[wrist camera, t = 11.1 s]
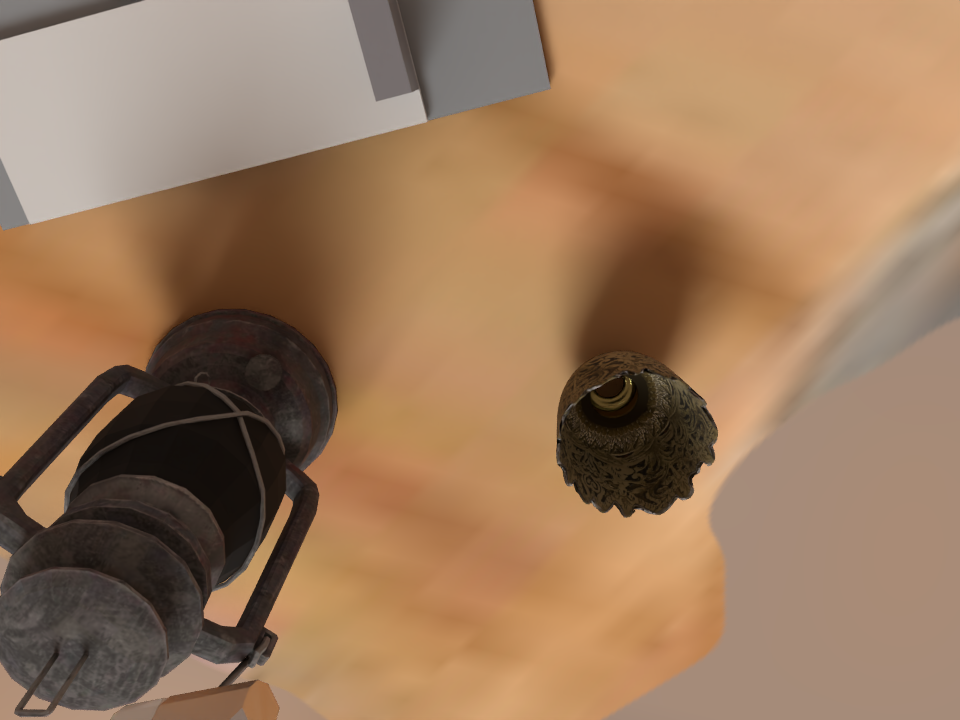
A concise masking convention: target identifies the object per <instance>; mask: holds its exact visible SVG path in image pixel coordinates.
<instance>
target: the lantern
mask: <svg viewBox="0 0 960 720" xmlns="http://www.w3.org/2000/svg"><path fill="white" fill-rule="evenodd" d="M117 394H123V395H125V396H128V397H131V398H134V400H133V401H132V402H131V403H130V404H129V405H128V406H127V407H126V408H124V409H123V410H122V411H121V412H120V413H119V414H118V415H117V416H116V417H115V418H114V419H113V420H112V421H111V422H110V423H109V424H108V425H107V426H106V427H105V428H104V429H103V430H102V431H101V432H99V433H98V434H97V435H96V437H95V438H94V440H93V441H92V443H91V444H90V446H89V447H88V448H87V450H86V451H85V453H84V454H83V456H82V457H81V459H80V461H79V464H78V467H77V469H76V472H75V474H74V476H73V478H72V480H71V481H70V483H69V485H68V487H67V489H66V491H65V503H64V514H63V515H62V516H61V517H59V518H58V519H57V520H56V521H55V522H54V523H53V524H52V525H51V526H50V527H48V528H45V527H43V526H42V525H40V524H39V523H37V522H36V521H34V520H33V519H31V518H30V517H28V516H27V515H26V514H25V512H24V511H23V509H22V508H21V507H20V505H19V504H18V502H17V501H18V500H19V498H20V497H21V496H22V495H23V494H24V492H25V491H26V490H27V489H28V488H29V487H30V486H31V485H32V484H33V483H34V482H35V480H36V479H37V478H38V477H39V476H40V475H41V474H42V473H43V472H44V471H45V470H46V468H47V467H48V466H49V465H50V464H51V463H52V462H53V461H54V460H55V459H56V458H57V457H58V455H59V454H60V453H61V452H62V451H63V450H64V449H65V448H66V447H67V446H68V445H69V443H70V442H71V441H72V440H73V439H74V438H75V437H76V436H77V435H78V434H79V433H80V431H81V430H82V429H83V428H84V427H85V426H86V425H87V424H88V423H89V422H90V421H91V419H92V418H93V417H94V416H95V415H96V414H97V413H98V412H99V411H100V410H101V409H102V407H103V406H104V405H105V404H106V403H107V402H108V401H110V400H111V399H112V398H113V397H114V396H116V395H117ZM337 411H338V410H337V395H336V387H335V384H334V381H333V378H332V375H331V373H330V370H329V367H328V365H327V363H326V362H325V361H324V359H323V358H322V356H321V355H320V353H319V352H318V350H317V349H316V348H315V346H314V345H313V344H312V343H311V342H310V341H309V340H308V339H306V338H305V337H304V336H303V335H302V334H301V333H299V332H298V331H297V330H296V329H295V328H294V327H292V326H290V325H288V324H286V323H284V322H282V321H280V320H278V319H276V318H274V317H272V316H270V315H266V314H262V313H258V312H254V311H250V310H246V309H218V310H214V311H211V312H207V313H203V314H199V315H196V316H193V317H191V318H190V319H188V320H186V321H185V322H183V323H181V324H180V325H178V326H176V327H175V328H173V329H172V330H171V331H170V332H169V333H168V334H167V335H166V337H165V338H164V339H163V340H162V341H161V342H160V343H159V344H158V345H157V346H156V348H155V350H154V352H153V354H152V357H151V359H150V361H149V363H148V365H147V367H146V371H145V372H144V371H142V370H139V369H137V368H134V367H132V366H129V365H120V366H114V367H113V368H111V369H109V370H107V371H106V372H104V373H102V374H101V375H99V376H97V377H96V378H95V379H94V381H93V382H92V383H91V384H90V385H89V386H88V387H87V388H86V389H85V390H84V391H83V392H82V393H81V394H80V395H79V396H78V398H77V399H76V400H75V401H74V402H73V403H72V404H71V405H70V406H69V407H68V408H67V409H66V410H65V411H64V412H63V413H62V415H61V416H60V417H59V418H58V419H57V420H56V421H55V422H54V423H53V424H52V425H51V426H50V427H49V428H48V429H47V430H46V431H45V433H44V434H43V435H42V436H41V437H40V438H39V439H38V440H37V441H36V442H35V443H34V444H33V445H32V446H31V447H30V448H29V450H28V451H27V452H26V453H25V454H24V455H23V456H22V457H21V458H20V459H19V460H18V461H17V462H16V463H15V464H14V465H13V466H12V468H11V469H10V470H9V471H8V472H7V473H6V474H5V475H4V476H3V477H2V476H0V546H1V547H2V548H4V549H5V550H7V551H8V552H10V553H11V554H13V555H12V556H11V557H10V560H9V563H8V566H7V569H6V572H5V575H4V578H3V581H2V584H1V587H0V589H1V596H0V662H1V664H2V665H3V667H4V668H5V670H6V671H7V673H8V674H9V675H10V677H11V678H12V679H13V680H14V681H16V682H17V683H18V684H20V685H21V686H22V687H24V688H25V689H27V690H28V691H27V693H26V694H25V695H24V697H23V698H22V700H21V701H20V703H19V704H18V705H17V707H16V709H15V714H16V715H18V716H20V717H47V716H48V715H50V714H51V713H52V712H53V711H54V709H55V708H56V706H57V705H60V706H63V707H66V708H69V709H72V710H98V711H105V710H109V709H112V708H116V707H119V706H123V705H126V704H130V703H133V702H136V701H137V700H138V699H139V698H141V697H142V696H143V695H144V694H145V693H147V692H148V691H149V690H150V689H151V688H153V687H154V686H155V685H157V683H158V681H159V679H160V677H163V676H165V675H167V674H168V673H169V672H170V671H172V670H173V669H174V668H175V667H177V666H178V665H179V664H180V663H182V662H183V661H184V660H185V659H187V658H188V657H189V656H190V654H191V653H192V654H194V655H196V656H199V657H201V658H203V659H206V660H208V661H210V662H213V663H215V664H224V663H238V662H241V661H242V662H241V663H240V664H239V665H238V666H237V667H236V668H235V670H234V671H233V672H232V673H231V674H230V675H229V676H228V677H227V678H226V679H225V680H224V681H223V682H222V684H221V685H220V686H219V687H222V686H227V685H231V684H232V683H233V682H234V681H235V680H236V679H237V678H238V677H239V676H240V674H241V673H242V672H243V671H244V670H245V669H246V668H247V667H250V668H253V667H255V665H256V663H257V664H258V665H260V666H262V665H264V664H265V662H266V661H267V660H268V659H269V658H270V656H271V653H272V651H273V649H274V647H275V644H276V642H277V640H278V637H277V635H276V634H274V633H273V632H271V631H270V630H268V629H266V628H265V627H264V625H265V623H266V620H267V618H268V616H269V614H270V612H271V610H272V607H273V605H274V603H275V601H276V599H277V597H278V595H279V592H280V590H281V588H282V586H283V584H284V582H285V579H286V577H287V575H288V573H289V571H290V569H291V566H292V564H293V562H294V560H295V558H296V556H297V553H298V551H299V549H300V547H301V545H302V543H303V540H304V538H305V536H306V534H307V532H308V530H309V527H310V525H311V523H312V521H313V519H314V517H315V515H316V511H317V505H318V499H319V492H318V489H317V485H316V484H315V483H314V482H313V481H312V480H311V479H310V478H309V477H308V476H307V475H306V474H305V473H304V472H303V471H304V470H305V469H306V468H307V467H308V466H309V465H310V464H311V463H312V462H313V461H314V460H315V459H316V458H317V457H318V456H319V455H320V454H321V453H322V451H323V449H324V448H325V446H326V444H327V442H328V441H329V439H330V437H331V435H332V433H333V429H334V425H335V420H336V416H337ZM284 494H286V495H287V496H288V497H289V498H290V499H291V500H292V501H293V507H292V510H291V513H290V516H289V518H288V520H287V522H286V524H285V526H284V528H283V530H282V533H281V535H280V537H279V539H278V541H277V543H276V545H275V547H274V549H273V551H272V553H271V556H270V558H269V560H268V562H267V564H266V566H265V568H264V570H263V572H262V574H261V576H260V579H259V581H258V583H257V585H256V587H255V589H254V591H253V593H252V595H251V597H250V599H249V602H248V604H247V606H246V608H245V610H244V612H243V614H242V616H241V618H240V620H239V622H238V624H237V626H236V627H228V626H220V625H218V624H216V623H214V622H212V621H209V620H207V619H205V618H204V612H203V610H204V608H205V605H206V603H207V601H208V599H209V597H210V594H211V592H213V591H216V590H218V589H221V588H224V587H226V586H228V585H229V584H230V583H231V582H233V581H234V580H235V579H236V578H237V577H238V576H239V575H240V574H241V573H243V572H244V571H245V570H246V569H247V567H248V565H249V563H250V561H251V560H252V558H253V556H254V554H255V552H256V551H257V549H258V548H259V546H260V545H261V543H262V542H263V540H264V538H265V537H266V535H267V532H268V530H269V528H270V526H271V524H272V522H273V520H274V517H275V515H276V513H277V511H278V509H279V506H280V504H281V502H282V499H283V497H284ZM235 572H236V573H235ZM234 573H235V574H234ZM233 574H234V575H233ZM229 577H230V578H229ZM228 578H229V579H228ZM227 579H228V580H227ZM226 580H227V581H226ZM224 581H226V582H224ZM222 582H224V583H222ZM220 583H221V584H220ZM218 584H219V585H218ZM33 694H34V695H35V696H36V697H38V698H39V699H42V700H45V701H48V702H51V704H50V706H49V707H48V708H47V710H27V709H26V710H25V709H24V710H23V708H24V707H25V705H26V704H27V702H28V701H29V699H30V698H31V696H32V695H33Z"/></svg>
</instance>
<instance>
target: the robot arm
mask: <svg viewBox="0 0 960 720" xmlns="http://www.w3.org/2000/svg"><path fill="white" fill-rule="evenodd" d="M279 709H280V707H279V705H278V703H277V701H276V699H275V697H274V695H273V693H272V690H271V688H270V686H269V684H267V683H265V682H262V681H260V680H254V681H248V682H244V683H238V684H233V685H227V686H222V687H217V688H211V689H206V690H201V691H195V692H190V693H185V694H180V695H174V696H170V697H169V698H161V699H156V700H151V701H146V702H141V703H136V704H131V705H126V706H125V707H123V708H122V709H120V710H119V711H117V712H116V713H114V714H113V716H112V717H111V719H110V720H276V719H277V716H278V713H279Z"/></svg>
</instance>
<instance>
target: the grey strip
mask: <svg viewBox="0 0 960 720" xmlns="http://www.w3.org/2000/svg"><path fill="white" fill-rule="evenodd" d="M425 122H428V118H427V114H426V110H425V106H424V102H423V98H422V94H421V90H420V86H419V83H418V79H417V75H416V71H415V67H414V63H413V59H412V55H411V52H410V48H409V44H408V40H407V36H406V32H405V28H404V24H403V21H402V17H401V13H400V9H399V5H398V1H397V0H144V1H141V2H137V3H133V4H130V5H126V6H122V7H119V8H115V9H112V10H108V11H104V12H101V13H97V14H94V15H90V16H86V17H83V18H79V19H76V20H72V21H68V22H65V23H61V24H57V25H54V26H50V27H47V28H43V29H39V30H36V31H32V32H29V33H25V34H21V35H18V36H14V37H11V38H7V39H3V40H0V158H1V161H2V163H3V165H4V167H5V170H6V172H7V174H8V176H9V179H10V181H11V183H12V185H13V188H14V190H15V192H16V194H17V196H18V199H19V201H20V203H21V205H22V208H23V210H24V212H25V214H26V217H27V219H28V221H29V223H30V224H34V223H38V222H42V221H46V220H50V219H54V218H58V217H61V216H65V215H69V214H73V213H77V212H81V211H85V210H88V209H92V208H96V207H100V206H104V205H108V204H112V203H116V202H119V201H123V200H127V199H131V198H135V197H139V196H143V195H146V194H150V193H154V192H158V191H162V190H166V189H170V188H174V187H177V186H181V185H185V184H189V183H193V182H197V181H201V180H204V179H208V178H212V177H216V176H220V175H224V174H228V173H232V172H235V171H239V170H243V169H247V168H251V167H255V166H259V165H263V164H266V163H270V162H274V161H278V160H282V159H286V158H290V157H293V156H297V155H301V154H305V153H309V152H313V151H317V150H321V149H324V148H328V147H332V146H336V145H340V144H344V143H348V142H351V141H355V140H359V139H363V138H367V137H371V136H375V135H379V134H382V133H386V132H390V131H394V130H398V129H402V128H406V127H410V126H413V125H417V124H421V123H425Z"/></svg>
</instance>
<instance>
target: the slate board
mask: <svg viewBox="0 0 960 720" xmlns="http://www.w3.org/2000/svg"><path fill="white" fill-rule="evenodd" d="M141 1H144V0H0V40H3V39H7V38H11V37H14V36H18V35H21V34H25V33H29V32H32V31H36V30H39V29H43V28H47V27H50V26H54V25H57V24H61V23H65V22H68V21H72V20H76V19H79V18H83V17H86V16H90V15H94V14H97V13H101V12H104V11H108V10H112V9H115V8H119V7H122V6H126V5H130V4H133V3H137V2H141ZM397 1H398V5H399V9H400V13H401V17H402V21H403V24H404V28H405V32H406V36H407V40H408V44H409V48H410V52H411V55H412V59H413V63H414V67H415V71H416V75H417V79H418V83H419V86H420V90H421V94H422V98H423V102H424V106H425V110H426V114H427V118H428V120H432V119H436V118H440V117H444V116H448V115H452V114H455V113H459V112H463V111H467V110H471V109H475V108H479V107H483V106H486V105H490V104H494V103H498V102H502V101H506V100H510V99H513V98H517V97H521V96H525V95H529V94H533V93H537V92H541V91H544V90H548V89H551V88H550V83H549V79H548V74H547V69H546V64H545V59H544V54H543V49H542V44H541V39H540V34H539V29H538V24H537V20H536V15H535V10H534V5H533V0H397ZM26 224H30V223H29V221H28V219H27V217H26V214H25V212H24V210H23V208H22V205H21V203H20V201H19V199H18V196H17V194H16V192H15V190H14V188H13V185H12V183H11V181H10V179H9V176H8V174H7V172H6V170H5V167H4V165H3V163H2V161H1V158H0V225H1V227H2V229H3V230H7V229H11V228H15V227H19V226H22V225H26Z"/></svg>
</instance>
